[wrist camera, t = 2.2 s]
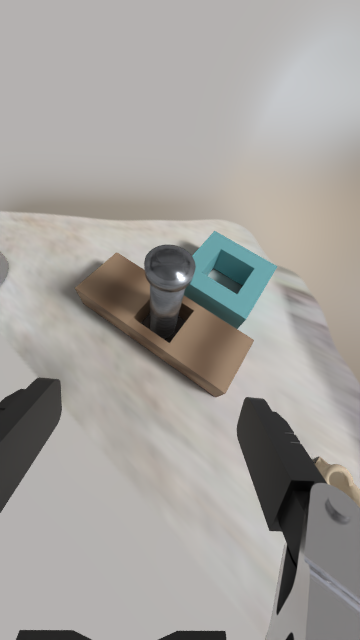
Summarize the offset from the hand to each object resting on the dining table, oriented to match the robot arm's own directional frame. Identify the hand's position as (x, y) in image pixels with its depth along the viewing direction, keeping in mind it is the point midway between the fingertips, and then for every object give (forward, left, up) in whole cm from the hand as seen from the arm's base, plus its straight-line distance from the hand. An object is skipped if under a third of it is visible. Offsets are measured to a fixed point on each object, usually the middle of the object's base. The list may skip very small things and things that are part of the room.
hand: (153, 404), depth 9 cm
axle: (-5, +9, -15) cm, 18 cm away
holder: (-2, +19, -15) cm, 24 cm away
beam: (-5, +9, -15) cm, 18 cm away
